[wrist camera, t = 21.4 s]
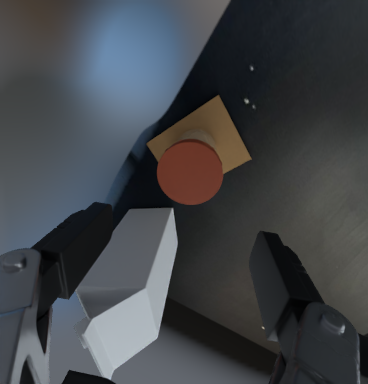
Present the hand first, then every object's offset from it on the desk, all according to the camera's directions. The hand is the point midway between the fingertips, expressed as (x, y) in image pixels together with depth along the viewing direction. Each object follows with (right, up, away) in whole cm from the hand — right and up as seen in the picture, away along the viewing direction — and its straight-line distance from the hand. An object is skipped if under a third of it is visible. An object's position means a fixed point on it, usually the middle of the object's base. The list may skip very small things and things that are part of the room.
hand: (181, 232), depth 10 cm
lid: (+1, +4, +8) cm, 9 cm away
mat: (+2, +8, +17) cm, 19 cm away
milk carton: (-5, -4, +23) cm, 24 cm away
